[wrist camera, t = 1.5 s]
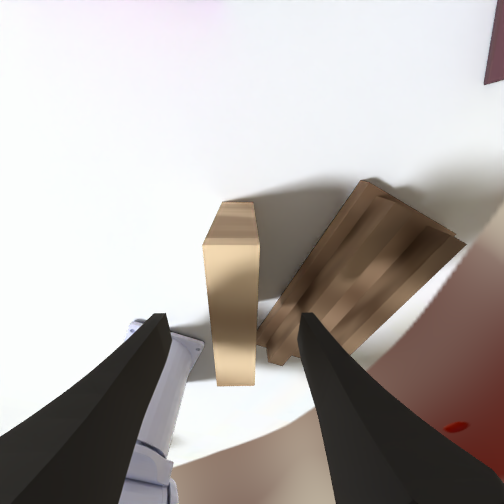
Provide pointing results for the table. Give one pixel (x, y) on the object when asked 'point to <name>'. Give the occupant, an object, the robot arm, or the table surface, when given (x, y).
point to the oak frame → (233, 291)
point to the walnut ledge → (359, 272)
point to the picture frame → (496, 48)
